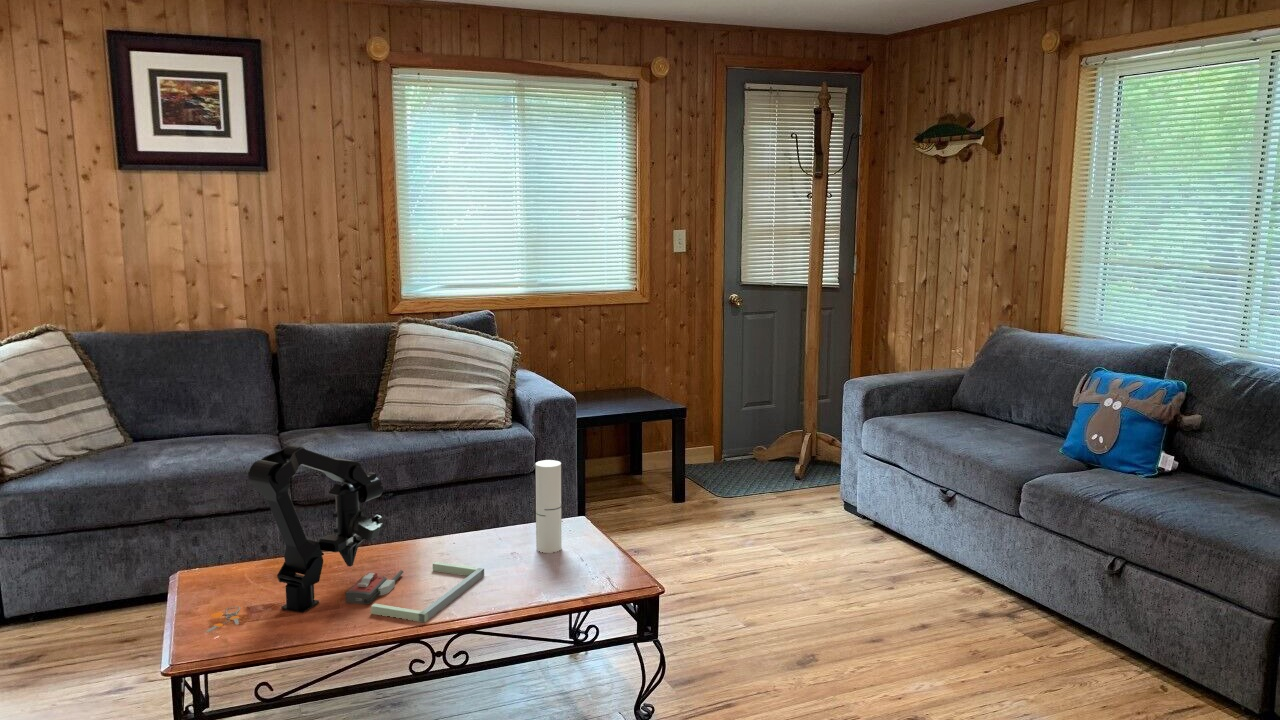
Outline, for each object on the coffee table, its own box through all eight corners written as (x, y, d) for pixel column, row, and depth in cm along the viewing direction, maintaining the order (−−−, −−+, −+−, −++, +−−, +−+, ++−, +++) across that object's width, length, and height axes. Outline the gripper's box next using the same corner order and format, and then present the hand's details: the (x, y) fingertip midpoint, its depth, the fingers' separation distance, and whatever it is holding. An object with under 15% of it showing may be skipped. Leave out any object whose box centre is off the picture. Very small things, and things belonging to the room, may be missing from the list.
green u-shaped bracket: (424, 622, 224) (424, 614, 224) (371, 613, 229) (370, 605, 228) (484, 575, 252) (484, 568, 252) (435, 568, 257) (435, 561, 256)
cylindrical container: (560, 553, 269) (560, 467, 265) (535, 553, 269) (534, 466, 265) (562, 544, 276) (561, 460, 272) (537, 544, 276) (536, 459, 272)
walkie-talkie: (376, 608, 233) (406, 576, 252) (376, 590, 232) (405, 560, 252) (342, 606, 234) (374, 574, 253) (341, 588, 233) (373, 558, 253)
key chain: (212, 611, 230) (212, 607, 230) (245, 607, 232) (244, 604, 232) (203, 634, 218) (203, 630, 218) (238, 630, 220) (237, 627, 220)
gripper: (353, 522, 233) (355, 583, 236) (395, 500, 250) (397, 557, 253) (314, 517, 236) (317, 577, 239) (358, 496, 254) (361, 552, 256)
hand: (350, 565), depth 247 cm, fingers closed
